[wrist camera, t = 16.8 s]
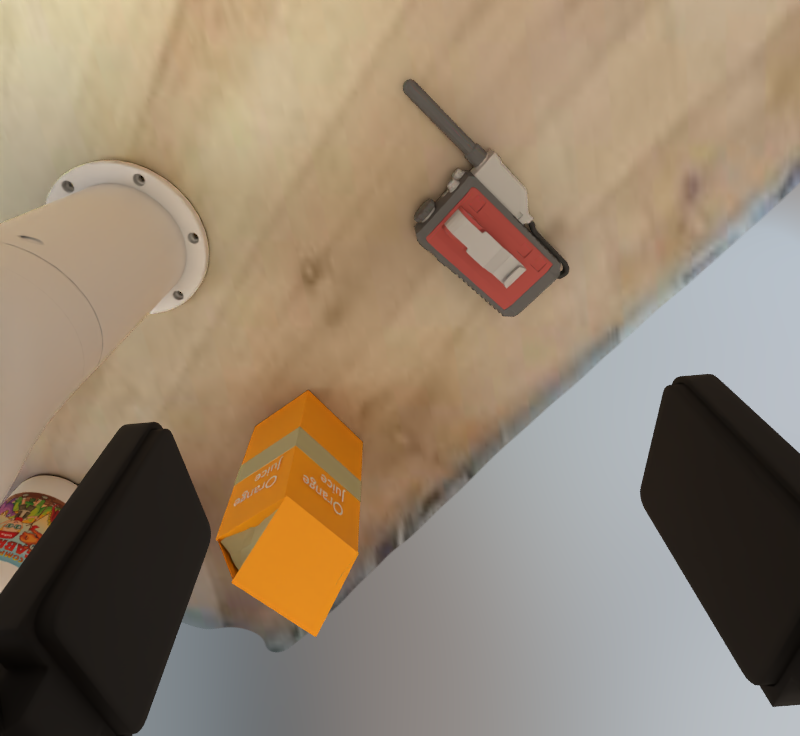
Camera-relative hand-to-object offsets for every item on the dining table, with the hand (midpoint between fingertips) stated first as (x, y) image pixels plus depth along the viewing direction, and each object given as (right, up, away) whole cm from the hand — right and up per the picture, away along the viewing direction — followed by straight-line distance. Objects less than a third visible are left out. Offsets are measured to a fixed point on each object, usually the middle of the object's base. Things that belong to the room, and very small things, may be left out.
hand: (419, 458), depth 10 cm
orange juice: (-10, -5, +43) cm, 45 cm away
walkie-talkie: (+5, +15, +31) cm, 35 cm away
